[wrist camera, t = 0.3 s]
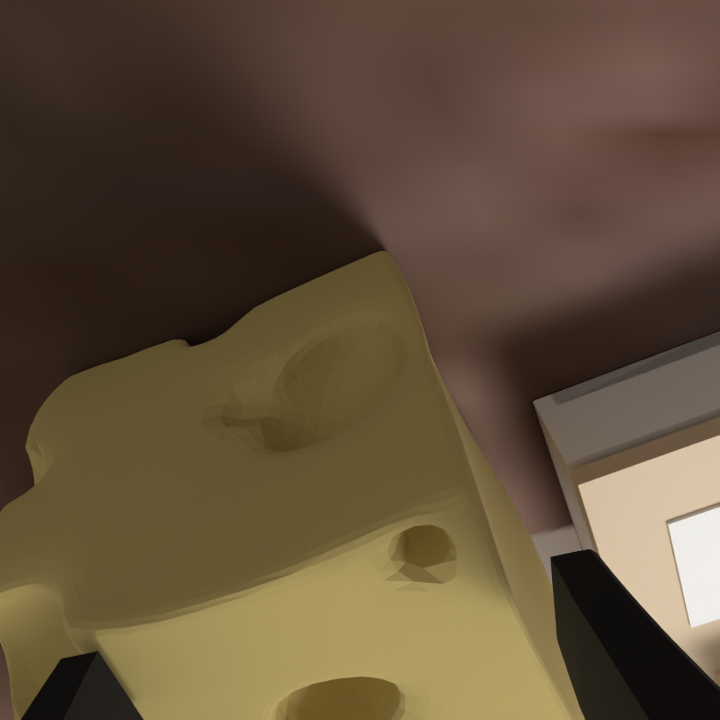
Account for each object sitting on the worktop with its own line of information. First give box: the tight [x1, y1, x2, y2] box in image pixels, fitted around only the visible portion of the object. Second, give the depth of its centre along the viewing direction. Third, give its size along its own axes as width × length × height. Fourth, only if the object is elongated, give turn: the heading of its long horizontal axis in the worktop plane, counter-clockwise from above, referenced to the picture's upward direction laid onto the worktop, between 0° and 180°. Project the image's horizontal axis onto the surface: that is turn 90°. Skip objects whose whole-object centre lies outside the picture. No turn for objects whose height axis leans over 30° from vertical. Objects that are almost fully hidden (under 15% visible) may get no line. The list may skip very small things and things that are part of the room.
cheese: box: [0, 251, 585, 720], centre depth 17 cm, size 10×11×10 cm
